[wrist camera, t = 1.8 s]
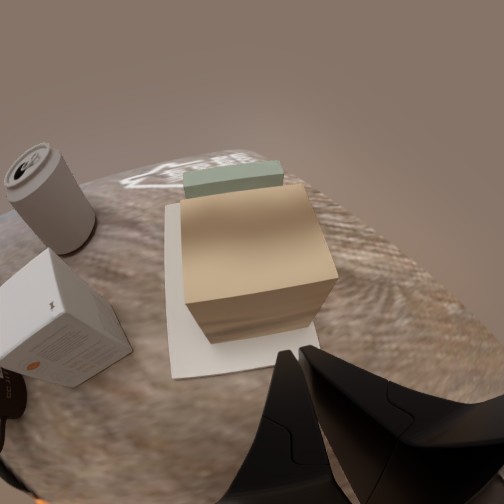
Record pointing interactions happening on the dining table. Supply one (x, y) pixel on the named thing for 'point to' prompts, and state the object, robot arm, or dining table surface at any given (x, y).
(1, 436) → the coffee mug
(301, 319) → the oak block
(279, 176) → the board
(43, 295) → the small box
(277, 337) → the laminate slab
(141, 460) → the dining table surface
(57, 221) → the can
